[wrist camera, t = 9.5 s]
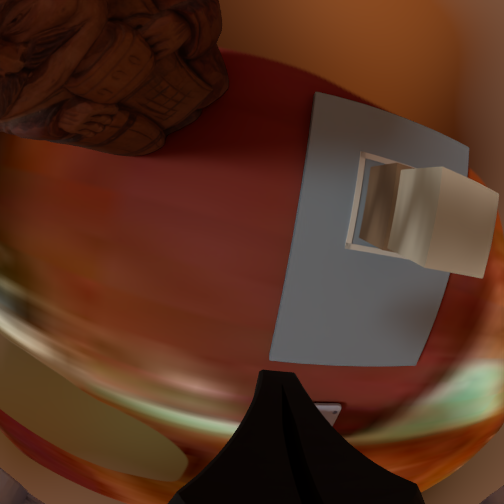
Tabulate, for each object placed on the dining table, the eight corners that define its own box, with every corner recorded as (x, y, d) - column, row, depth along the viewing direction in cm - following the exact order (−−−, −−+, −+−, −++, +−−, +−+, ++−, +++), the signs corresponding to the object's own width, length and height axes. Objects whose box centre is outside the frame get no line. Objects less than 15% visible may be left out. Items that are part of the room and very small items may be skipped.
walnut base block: (415, 248, 18) (444, 262, 14) (358, 237, 18) (382, 250, 14) (426, 184, 17) (458, 185, 13) (370, 166, 17) (397, 162, 13)
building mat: (412, 360, 21) (416, 365, 20) (269, 354, 21) (269, 360, 20) (463, 148, 17) (469, 147, 16) (313, 95, 17) (316, 91, 16)
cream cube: (443, 259, 14) (482, 278, 10) (387, 248, 14) (424, 267, 10) (456, 190, 13) (499, 193, 9) (401, 169, 13) (442, 166, 9)
